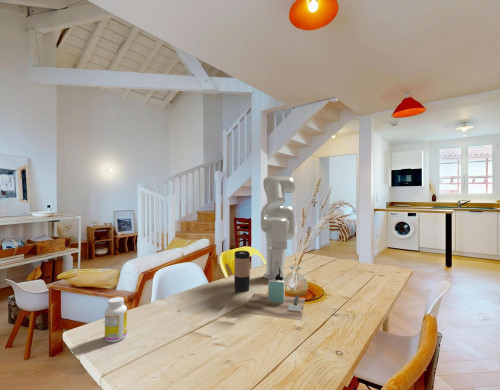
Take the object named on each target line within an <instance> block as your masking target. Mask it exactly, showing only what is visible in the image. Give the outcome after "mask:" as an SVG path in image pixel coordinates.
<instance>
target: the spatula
mask: <svg viewBox="0 0 500 390" xmlns="http://www.w3.org/2000/svg"><path fill="white" fill-rule="evenodd" d="M294 297H295V300H294V304H289V307H288V310H287V311H292V312H300V310H301V305H297V304H298V299H299V298H300V295H295V296H294Z"/></svg>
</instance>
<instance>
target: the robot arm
mask: <svg viewBox="0 0 500 390" xmlns="http://www.w3.org/2000/svg"><path fill="white" fill-rule="evenodd" d="M262 185H263V190H264V193H265V195H266V199H267V202H266V203H265V204H264V206H263V207H262V209H261V212H260V229H261V231H262V232H263V233H265V239H266V240H265V242H266V272H265V273H264V274H263V277H264V278H265V279H267V280H280V281H284V280H283V279H285V278H286V274H285V273H283V270H284V269H285V264H286V250H287V249H288V240H289V241H293V240H294V239H295V235H296V234H295V233H296V228H295V225H296V224H295V210H294V208H293V207H292V206H289V205H285V202H286V199H285V194H293V193H294V192H295V189H296V185H295V181H294V178H293V177H292V176H284V175H283V176H280V175H279V176H275V175H273V176H267V177H264V178H263V183H262ZM270 247H271V249H270Z"/></svg>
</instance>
